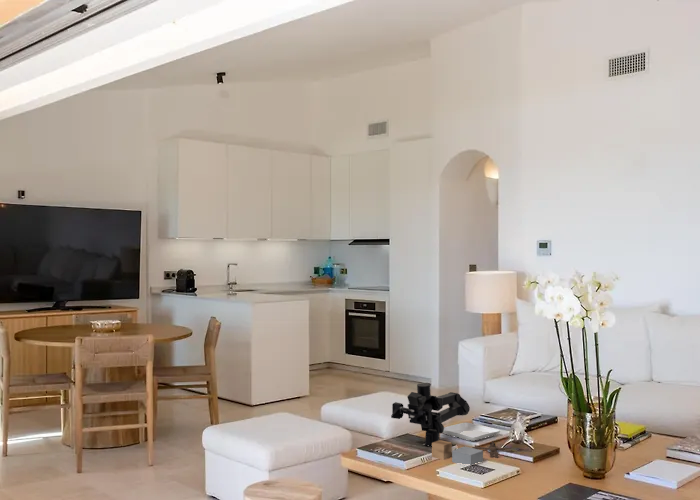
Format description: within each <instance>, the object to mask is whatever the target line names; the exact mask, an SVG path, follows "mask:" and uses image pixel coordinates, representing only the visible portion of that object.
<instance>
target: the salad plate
mask: <svg viewBox="0 0 700 500" xmlns="http://www.w3.org/2000/svg"><path fill="white" fill-rule="evenodd" d="M473 430H476V431H482V432H489V433H487V434H483V435H480V436H477V437H470V436H466V435H463V434H460V433H461V432H463V431H473ZM501 431H502V430H501V429H498V428H493V427H489V426H485V425H482V424H476V423H473V422H472V423H471V422H461V423H460V422H459V423H457V424H452V425H448V426H444V431H443V432H442V433H441V434H445V435H446V434H447V436H449V435H451V436H450V437H452V436H455V437H454V438H456V437H459V438H458V439H460V438H463V439H462V440H464V439H467V440H466V441H468V440H471V441H470V442H476V441H475V440H477V441H479V440H478V439H481V440H483V439H482V438H485V437H488V436H491V437H493V436H492V435H494V436H496V435H495V434H497V435H498V434H500V433H501ZM488 438H489V437H488ZM485 439H486V438H485Z"/></svg>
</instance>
